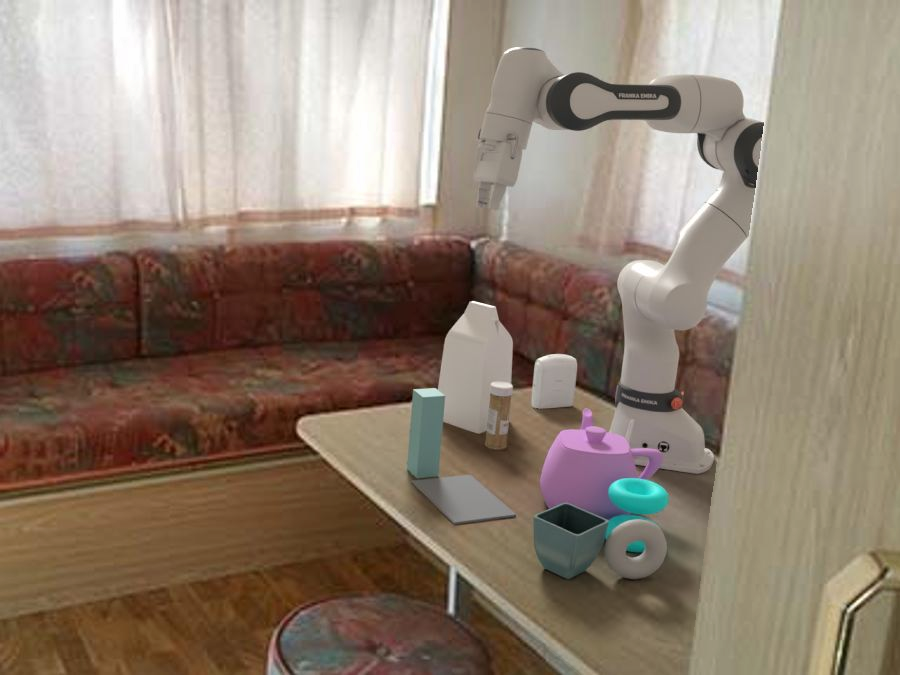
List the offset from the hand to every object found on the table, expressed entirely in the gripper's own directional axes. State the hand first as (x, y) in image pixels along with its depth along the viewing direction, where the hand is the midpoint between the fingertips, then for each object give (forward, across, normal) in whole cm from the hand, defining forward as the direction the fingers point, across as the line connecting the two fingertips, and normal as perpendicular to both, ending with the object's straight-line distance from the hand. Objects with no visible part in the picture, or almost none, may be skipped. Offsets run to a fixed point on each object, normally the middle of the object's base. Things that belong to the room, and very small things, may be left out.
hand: (486, 208), depth 197 cm
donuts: (+49, -31, -31) cm, 66 cm away
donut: (+51, -43, -27) cm, 72 cm away
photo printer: (+40, +37, -35) cm, 65 cm away
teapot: (+48, -16, -27) cm, 57 cm away
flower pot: (+53, -40, -17) cm, 68 cm away
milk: (+45, +27, -15) cm, 55 cm away
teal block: (+51, -2, 0) cm, 51 cm away
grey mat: (+51, -14, -5) cm, 53 cm away
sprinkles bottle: (+46, +12, -17) cm, 51 cm away
